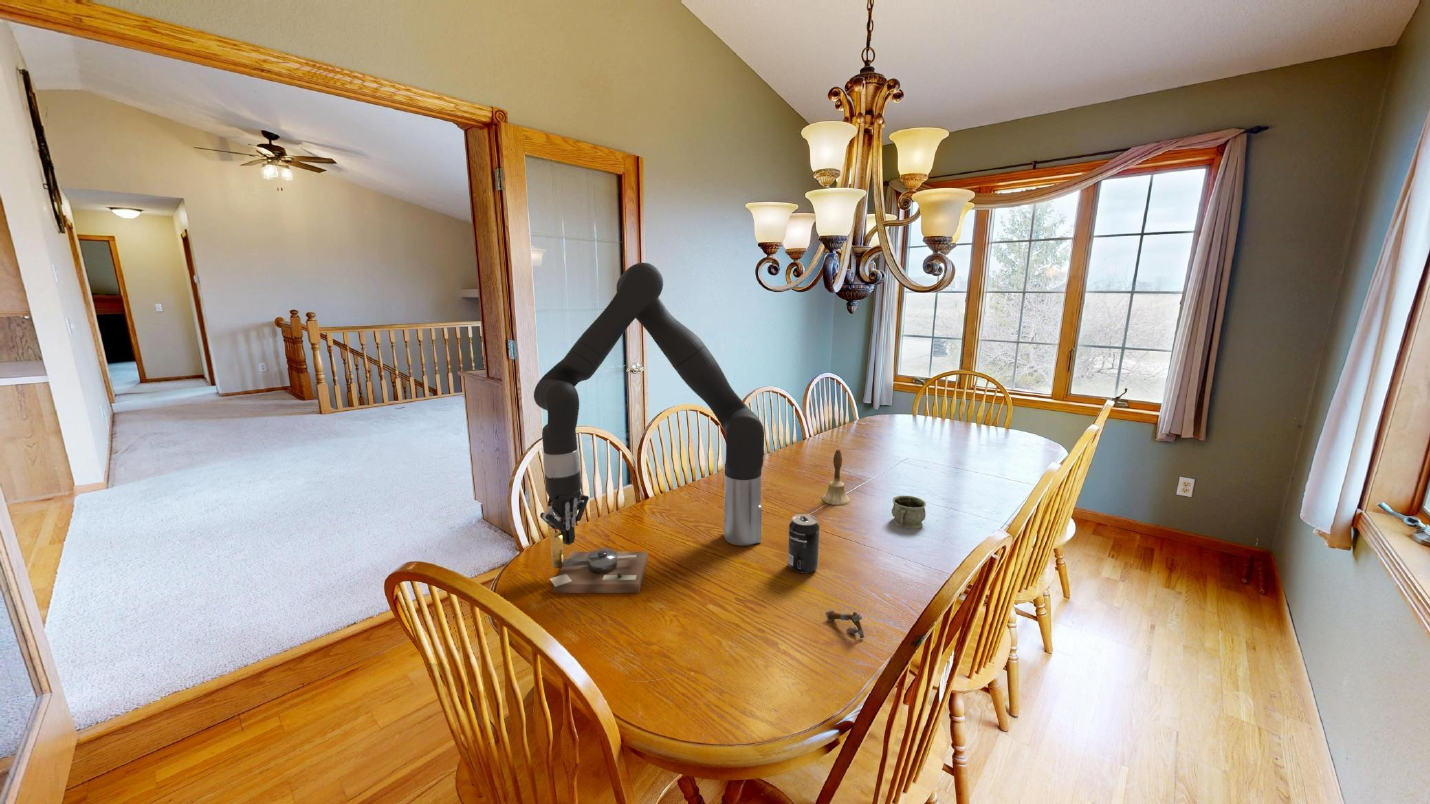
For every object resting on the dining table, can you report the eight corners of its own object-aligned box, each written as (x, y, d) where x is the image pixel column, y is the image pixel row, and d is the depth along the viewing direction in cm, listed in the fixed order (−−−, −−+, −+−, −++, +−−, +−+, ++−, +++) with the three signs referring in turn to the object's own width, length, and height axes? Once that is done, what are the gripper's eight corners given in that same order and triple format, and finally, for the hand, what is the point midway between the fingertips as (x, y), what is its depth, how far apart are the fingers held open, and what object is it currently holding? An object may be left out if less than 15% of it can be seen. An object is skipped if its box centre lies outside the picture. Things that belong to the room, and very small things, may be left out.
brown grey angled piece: (863, 640, 94) (857, 614, 94) (831, 635, 100) (825, 611, 101) (870, 636, 95) (863, 611, 95) (837, 631, 101) (831, 608, 102)
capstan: (636, 555, 120) (635, 524, 118) (636, 570, 114) (635, 537, 112) (554, 561, 117) (552, 529, 116) (550, 576, 111) (547, 543, 110)
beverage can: (808, 558, 124) (810, 511, 121) (823, 572, 118) (825, 523, 115) (782, 563, 122) (783, 515, 119) (796, 578, 115) (798, 527, 113)
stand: (647, 559, 123) (647, 547, 123) (638, 595, 109) (638, 582, 108) (565, 559, 123) (564, 547, 122) (545, 595, 108) (544, 582, 108)
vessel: (899, 511, 151) (901, 491, 149) (931, 519, 145) (933, 498, 144) (883, 525, 141) (885, 504, 140) (916, 535, 136) (918, 512, 135)
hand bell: (850, 506, 154) (853, 454, 151) (821, 504, 156) (824, 452, 152) (849, 496, 162) (852, 446, 159) (822, 493, 164) (824, 444, 160)
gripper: (571, 458, 121) (577, 527, 125) (526, 476, 110) (533, 552, 113) (596, 463, 117) (601, 534, 121) (551, 482, 106) (558, 560, 110)
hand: (568, 543), depth 117 cm, fingers closed
